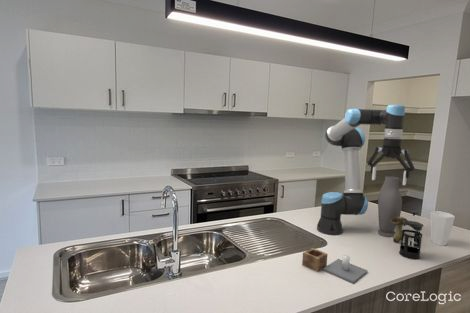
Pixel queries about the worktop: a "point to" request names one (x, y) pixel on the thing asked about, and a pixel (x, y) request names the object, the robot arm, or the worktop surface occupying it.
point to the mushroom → (398, 227)
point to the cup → (441, 227)
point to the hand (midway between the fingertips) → (388, 182)
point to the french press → (411, 247)
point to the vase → (389, 206)
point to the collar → (314, 259)
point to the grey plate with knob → (345, 270)
